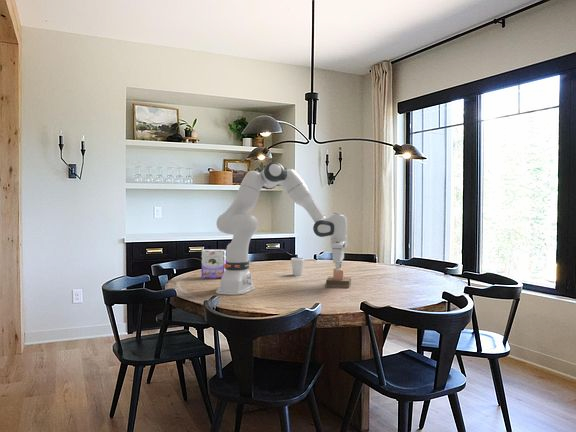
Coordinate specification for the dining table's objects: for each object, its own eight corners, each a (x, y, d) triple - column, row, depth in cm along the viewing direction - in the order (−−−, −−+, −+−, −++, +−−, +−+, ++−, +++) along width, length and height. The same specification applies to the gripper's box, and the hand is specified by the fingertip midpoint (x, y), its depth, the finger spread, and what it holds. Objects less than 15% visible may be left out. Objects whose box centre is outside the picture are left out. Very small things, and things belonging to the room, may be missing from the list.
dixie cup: (288, 274, 287) (288, 258, 286) (301, 273, 290) (301, 257, 289) (293, 276, 279) (293, 259, 278) (306, 275, 282) (306, 259, 281)
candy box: (226, 277, 277) (226, 249, 276) (224, 278, 271) (224, 250, 270) (203, 276, 278) (203, 249, 278) (201, 278, 273) (200, 250, 272)
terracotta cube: (342, 279, 248) (342, 270, 248) (333, 279, 249) (333, 270, 249) (343, 278, 253) (343, 269, 253) (334, 277, 254) (334, 268, 254)
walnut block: (348, 288, 245) (349, 281, 244) (326, 287, 247) (326, 280, 247) (350, 284, 256) (350, 277, 256) (329, 283, 259) (329, 276, 259)
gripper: (335, 241, 261) (335, 266, 262) (330, 245, 241) (330, 271, 242) (346, 241, 260) (346, 266, 260) (342, 245, 240) (342, 272, 240)
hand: (338, 269), depth 251 cm, fingers open, 8 cm apart
